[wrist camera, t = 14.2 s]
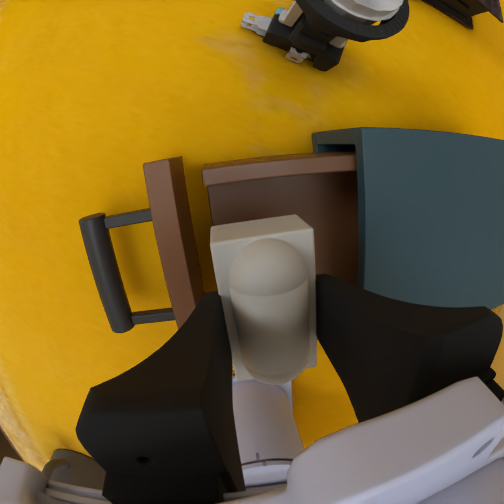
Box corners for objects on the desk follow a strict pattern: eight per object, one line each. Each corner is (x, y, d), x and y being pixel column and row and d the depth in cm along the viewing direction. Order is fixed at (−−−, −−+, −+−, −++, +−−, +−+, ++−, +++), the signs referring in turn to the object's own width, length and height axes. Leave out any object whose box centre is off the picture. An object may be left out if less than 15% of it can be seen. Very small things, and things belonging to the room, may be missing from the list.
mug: (118, 484, 30) (110, 548, 19) (65, 472, 29) (51, 531, 17) (91, 437, 26) (71, 520, 14) (30, 421, 24) (2, 492, 13)
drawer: (132, 329, 20) (115, 376, 15) (92, 175, 16) (52, 186, 12) (370, 292, 22) (405, 327, 17) (370, 140, 18) (417, 141, 13)
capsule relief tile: (303, 337, 14) (327, 389, 10) (232, 350, 13) (239, 407, 10) (296, 213, 12) (329, 240, 8) (210, 226, 11) (209, 259, 8)
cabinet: (320, 303, 23) (356, 359, 16) (311, 132, 18) (361, 127, 12) (455, 270, 24) (505, 303, 17) (462, 137, 19) (524, 144, 13)
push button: (227, 55, 16) (243, -25, 7) (255, -4, 14) (288, -93, 5) (322, 91, 17) (411, 55, 8) (343, 32, 16) (427, -23, 7)
